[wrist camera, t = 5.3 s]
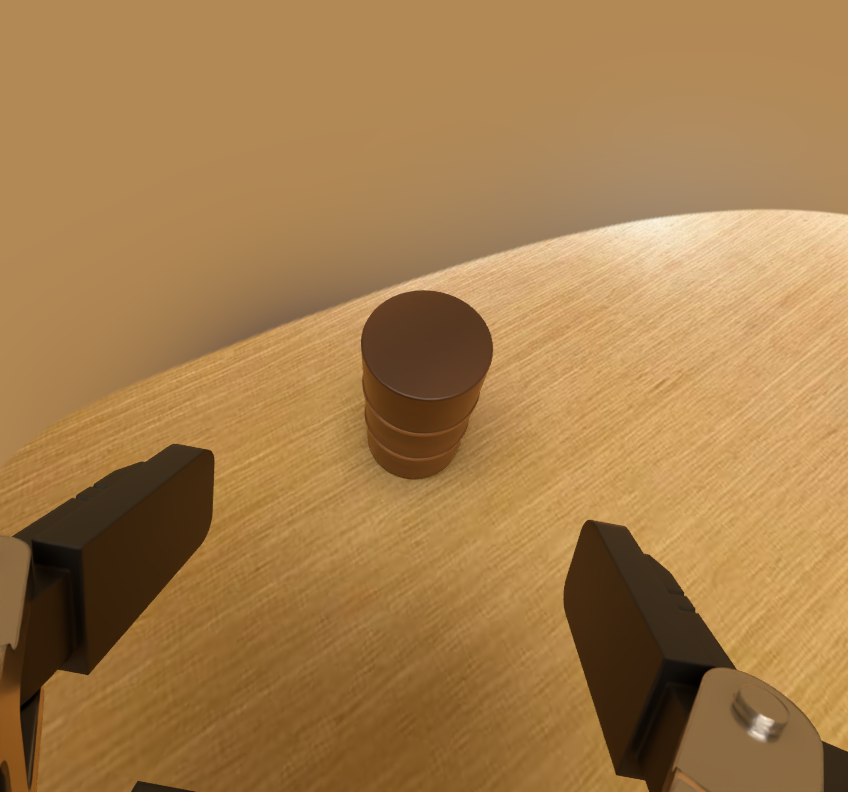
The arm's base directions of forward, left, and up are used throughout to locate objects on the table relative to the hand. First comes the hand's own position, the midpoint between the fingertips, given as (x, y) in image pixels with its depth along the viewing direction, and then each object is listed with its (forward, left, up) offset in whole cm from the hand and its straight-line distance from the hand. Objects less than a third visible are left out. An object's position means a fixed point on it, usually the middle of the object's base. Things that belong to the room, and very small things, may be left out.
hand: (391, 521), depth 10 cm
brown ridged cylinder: (-4, +5, -11) cm, 13 cm away
